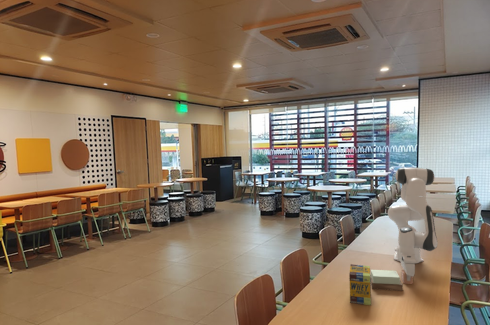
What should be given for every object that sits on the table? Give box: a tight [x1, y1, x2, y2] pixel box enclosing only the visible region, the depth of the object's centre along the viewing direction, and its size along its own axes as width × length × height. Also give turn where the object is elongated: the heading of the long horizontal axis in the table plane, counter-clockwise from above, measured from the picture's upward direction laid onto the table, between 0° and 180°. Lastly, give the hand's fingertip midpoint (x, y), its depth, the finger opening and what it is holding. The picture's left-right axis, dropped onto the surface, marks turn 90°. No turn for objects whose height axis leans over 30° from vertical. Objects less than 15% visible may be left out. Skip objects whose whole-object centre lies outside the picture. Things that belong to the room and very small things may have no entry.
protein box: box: [348, 263, 372, 306], centre depth 175 cm, size 10×15×16 cm
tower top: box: [370, 269, 401, 284], centre depth 189 cm, size 10×14×4 cm
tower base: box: [370, 274, 404, 292], centre depth 189 cm, size 12×16×4 cm
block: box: [401, 269, 414, 285], centre depth 193 cm, size 5×5×6 cm
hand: (407, 278), depth 193 cm, fingers open, 5 cm apart
